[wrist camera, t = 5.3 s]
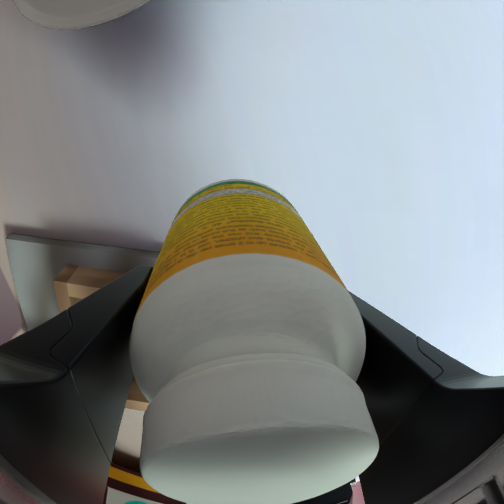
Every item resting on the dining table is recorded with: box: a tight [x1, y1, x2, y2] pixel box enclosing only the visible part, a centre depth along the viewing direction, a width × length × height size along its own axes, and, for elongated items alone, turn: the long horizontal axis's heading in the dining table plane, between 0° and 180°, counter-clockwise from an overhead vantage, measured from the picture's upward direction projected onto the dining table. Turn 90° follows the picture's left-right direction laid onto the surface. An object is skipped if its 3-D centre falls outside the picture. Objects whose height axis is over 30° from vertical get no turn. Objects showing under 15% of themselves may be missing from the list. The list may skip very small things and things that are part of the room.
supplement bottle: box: [129, 179, 379, 504], centre depth 8 cm, size 5×5×10 cm
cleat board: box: [5, 234, 160, 411], centre depth 23 cm, size 22×14×6 cm, turn 80°
